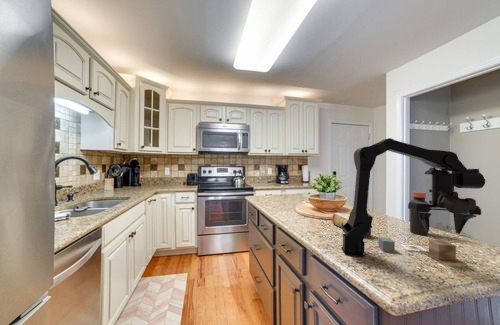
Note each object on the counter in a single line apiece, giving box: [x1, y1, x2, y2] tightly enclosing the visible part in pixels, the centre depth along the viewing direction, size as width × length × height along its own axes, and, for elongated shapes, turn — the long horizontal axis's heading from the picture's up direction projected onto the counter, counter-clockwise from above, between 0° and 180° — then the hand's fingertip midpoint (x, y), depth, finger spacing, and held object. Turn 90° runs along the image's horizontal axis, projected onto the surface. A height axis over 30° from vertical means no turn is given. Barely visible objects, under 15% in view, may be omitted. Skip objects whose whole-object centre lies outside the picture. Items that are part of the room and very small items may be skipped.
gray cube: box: [377, 237, 396, 253], centre depth 79 cm, size 4×4×4 cm
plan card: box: [399, 243, 429, 253], centre depth 80 cm, size 7×5×1 cm
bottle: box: [409, 191, 429, 236], centre depth 99 cm, size 7×7×20 cm
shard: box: [420, 250, 467, 268], centre depth 72 cm, size 11×8×2 cm
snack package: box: [331, 212, 372, 238], centre depth 103 cm, size 21×7×7 cm, turn 14°
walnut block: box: [428, 238, 457, 261], centre depth 71 cm, size 5×5×5 cm
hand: (442, 232), depth 71 cm, fingers open, 9 cm apart
